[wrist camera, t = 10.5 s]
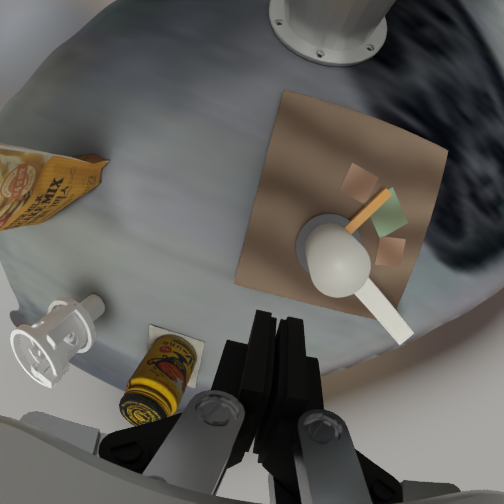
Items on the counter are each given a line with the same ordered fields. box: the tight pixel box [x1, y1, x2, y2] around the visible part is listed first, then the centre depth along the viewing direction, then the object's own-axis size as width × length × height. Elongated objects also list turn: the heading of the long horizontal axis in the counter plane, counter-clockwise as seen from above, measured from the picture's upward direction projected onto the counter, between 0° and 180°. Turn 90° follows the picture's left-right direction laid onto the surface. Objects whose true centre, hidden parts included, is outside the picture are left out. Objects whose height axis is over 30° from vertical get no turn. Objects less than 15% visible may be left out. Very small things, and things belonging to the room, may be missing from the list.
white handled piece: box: [296, 187, 414, 345], centre depth 25 cm, size 16×11×7 cm
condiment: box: [119, 325, 204, 426], centre depth 30 cm, size 7×8×12 cm
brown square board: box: [234, 90, 448, 320], centre depth 28 cm, size 20×18×2 cm
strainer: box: [10, 294, 105, 388], centre depth 28 cm, size 7×7×15 cm
